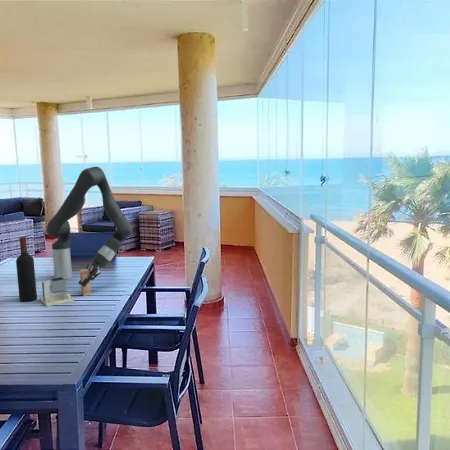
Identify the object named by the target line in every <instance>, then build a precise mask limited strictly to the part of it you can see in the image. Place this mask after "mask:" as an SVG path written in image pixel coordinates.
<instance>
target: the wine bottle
mask: <svg viewBox="0 0 450 450" xmlns="http://www.w3.org/2000/svg"><path fill="white" fill-rule="evenodd" d="M27 244H28V242H27V236H20V237H19V246H20V255H19V256H18V257H17V258H16V259H15V264H16V266H15V267H16V276H17V285H18V287H17V288H18V297H19V298H18V299H19V303H30V302H34V301H37V300H38V294H37V284H36V283H37V282H36V280H37V279H36V272H35V271H36V270H35V259H34V257H33V256H32V255H30V254H29V253H28V245H27Z"/></svg>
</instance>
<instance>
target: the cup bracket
mask: <svg viewBox="0 0 450 450" xmlns="http://www.w3.org/2000/svg"><path fill="white" fill-rule="evenodd" d="M66 284H67V283H66V280H65V279H64V278H62V277H59V278H55V277H54V278H49V279H47V280H42V281H41V286H42V287H41V289H42V296H39V301H40V302H42V304H44V306H46V307H50V306H55V305H60V304H64V303H70V302H74V297H73V296H72V295H70V294H69V293H68V292H66V291H67V285H66ZM50 292H51V293H52V294H50Z"/></svg>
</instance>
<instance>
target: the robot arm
mask: <svg viewBox="0 0 450 450" xmlns="http://www.w3.org/2000/svg"><path fill="white" fill-rule="evenodd" d="M95 186H97V187H98V189H99V191H100V193H101V197H102V206H103V210H104V213H105V214H106V216H107V217H108V219H109V221H110V222H111V223H113V225H114V227H115V229H116V230H115V231H114V233H113V234H112V235H111V237H109V238H108V240H106V242H105V243H104V245H103V246H101V248H100V249H98V251H97V252H96V254H95V255H94V256H93V257H92V260H91V261H92V262H93V263H91V264H90V265H89V264H87V265H86V267H85V269H87V270H89V273H88V275H87V277H86V278H85V279H84V281H83V282H82V283H81V279H79V281H78V282H77V283H78V284H79V285H80V286H81V285H82V286H83V287H85V286H86V285H87V283H88V282H89V281H90V282H92V281H94V280H95V279H96V278H97V277H98V276H100V274H101V269H105V268H106V267H107V266H108V264H109V263H110V262H111V261H112V259H114V256H116V253H117V252H118V251H119V250H120V249H121V247H122V246H123V245H122V244H124V242H125V241H126V240H127V239H128V238H129V237H130V236H131V235H132V233H133V228H132V225H131V223H130V222H129V221H128V220H127V218H126V217H125V215H124V213H123V211H122V210H121V208H120V207H119V205H118V203H117V201H116V199H115V197H114V195H113V192H112V190H111V187H110V184H109V182H108V180H107V177H106V174H105V172H104V171H103V169H102V168H101V167H99V166H91V167H88V168H85V169H82V171H81V172H80V173H79V175H78V177H77V180H76V182H75V184H74V186H73V188H72V189H71V190H70V192H69V194H68V195H67V197H66V198H65V200H64V201H63V203H62V204H61V206H60V208H59V209H58V210H57V212H56V213H55V214H54V216H53V217H52V218H51V219H50V220H49V222H48V223H47V225H46V232H47V234H48V236H49V237H52V238H55V237H57V240H55V241H54V242H53V243H52V244H51V250H52V262H53V274H54V278H59V277H62V278H64V279H65V281H66V280H69V279H73V271H72V258H71V257H72V256H71V241H72V240H71V226H70V225H71V224H70V222H69V221H70V220H71V219H72V218H74V217H75V216H77V214H79V213H80V212H81V211H82V208H83V207H84V206H85V202H86V194H87V192H88V191H90V189H91V188H92V187H95Z"/></svg>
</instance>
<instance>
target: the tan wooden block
mask: <svg viewBox="0 0 450 450" xmlns="http://www.w3.org/2000/svg"><path fill="white" fill-rule="evenodd" d="M88 273H89V270H87V269H86V268H85V269H81V270H79V276H80V280H81V283H82V282H83V281H84V279H85V278H86V277H87V275H88ZM80 289H81V295H83V297H84V296H90V295H91V281H89V282H88V283H87V285H86V286H85V287H83V286H82V285H80Z"/></svg>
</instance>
